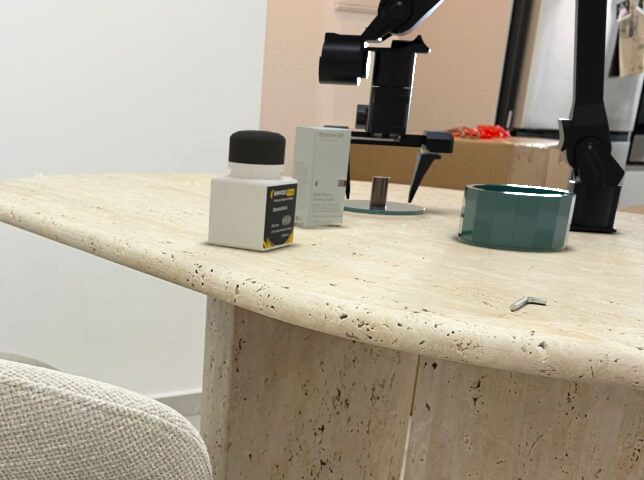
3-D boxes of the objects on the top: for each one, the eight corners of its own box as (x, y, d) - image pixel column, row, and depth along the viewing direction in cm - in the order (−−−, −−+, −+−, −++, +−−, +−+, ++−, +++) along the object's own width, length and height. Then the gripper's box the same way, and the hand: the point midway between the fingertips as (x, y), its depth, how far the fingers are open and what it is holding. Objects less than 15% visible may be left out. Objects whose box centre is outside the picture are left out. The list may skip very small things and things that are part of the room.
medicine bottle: (263, 252, 100) (272, 133, 96) (206, 243, 104) (212, 129, 100) (293, 244, 106) (303, 132, 102) (238, 237, 110) (245, 128, 105)
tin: (552, 239, 121) (561, 187, 119) (576, 254, 109) (587, 198, 107) (452, 232, 122) (459, 181, 120) (465, 247, 111) (474, 191, 108)
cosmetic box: (307, 228, 119) (316, 127, 115) (285, 223, 123) (293, 125, 119) (344, 227, 123) (354, 128, 118) (321, 222, 126) (330, 126, 122)
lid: (419, 210, 145) (423, 176, 143) (428, 221, 133) (433, 184, 131) (330, 205, 147) (333, 170, 145) (331, 215, 134) (334, 178, 132)
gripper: (451, 91, 140) (436, 199, 146) (324, 84, 142) (315, 191, 147) (461, 90, 130) (445, 207, 135) (325, 84, 131) (314, 199, 137)
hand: (378, 200), depth 139 cm, fingers open, 9 cm apart
